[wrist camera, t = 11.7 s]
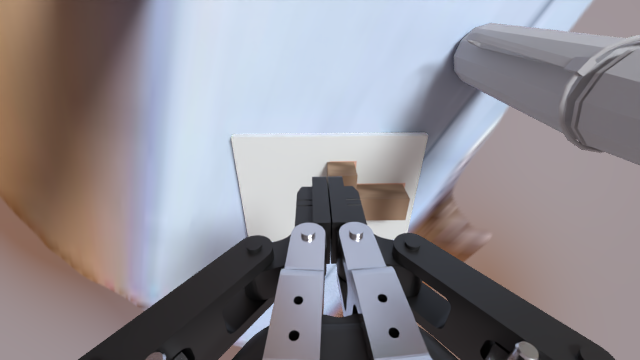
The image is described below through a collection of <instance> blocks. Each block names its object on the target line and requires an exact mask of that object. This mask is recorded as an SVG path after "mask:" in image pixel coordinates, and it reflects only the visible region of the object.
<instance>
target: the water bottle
mask: <svg viewBox="0 0 640 360" xmlns="http://www.w3.org/2000/svg"><path fill="white" fill-rule="evenodd" d="M454 71H455V72H456V74H457V75H458V77H459V78H460V79H461V81H463V82H465V83H467V84H468V85H470V86H472V87H474V88H476V89H478V90H480V91H482V92H484V93H486V94H488V95H490V96H492V97H494V98H496V99H498V100H499V101H501V102H503V103H505V104H507V105H509V106H511V107H513V108H515V109H517V110H519V111H521V112H523V113H525V114H527V115H529V116H530V117H533V118H534V119H536V120H538V121H540V122H542V123H544V124H546V125H548V126H550V127H552V128H554V129H556V130H558V131H560V132H561V133H563V134H564V135H565V137H566V138H567V140H568V141H570V142H571V143H573V144H574V145H576V146H577V147H578V148H580V149H582V150H588V151H593V152H606V153H609V154H612V155H615V156H617V157H620V158H623V159H625V160H627V161H630V162H633V163H635V164H638V165H640V35H638V36H631V37H629V38H620V37H611V36H602V35H593V34H583V33H574V32H567V31H558V30H549V29H540V28H531V27H522V26H513V25H504V24H495V23H489V24H485V25H482V26H479V27H475V28H474V29H473V30H472V31H470V32H469V33H468V34H467V35H466V36H465V37H464V38H463V39H462V40H461V41H460V43H459V46H458V48H457V50H456V52H455V54H454ZM576 139H577V140H578V141H579V142H578V141H577V140H576Z"/></svg>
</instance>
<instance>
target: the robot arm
mask: <svg viewBox="0 0 640 360" xmlns="http://www.w3.org/2000/svg"><path fill="white" fill-rule="evenodd" d="M296 200H297V201H296V214H295V227H294V229H293V230H292V232H291V234H290V235H289V236H288V237H286V238H284V239H282V240H279V241H275V242H272V241H271V240H270V239H269V238H267V237H265V236H261V235H254V236H250V237H247V238H245V239H243V240H242V241H240V242H239V243H238V244H236V245H235V246H234V247H232V248H231V249H229V250H228V251H227V252H225V253H224V254H223V255H221V256H220V257H218V258H217V259H216V260H214V261H213V262H212V263H210V264H209V265H207V266H206V267H205V268H203V269H202V270H201V271H199V272H198V273H196V274H195V275H194V276H192V277H191V278H190V279H188V280H187V281H185V282H184V283H183V284H181V285H180V286H179V287H177V288H176V289H174V290H173V291H172V292H170V293H169V294H168V295H166V296H165V297H163V298H162V299H161V300H159V301H158V302H157V303H155V304H154V305H152V306H151V307H150V308H148V309H147V310H146V311H144V312H143V313H142V314H140V315H139V316H137V317H136V318H135V319H133V320H132V321H130V322H129V323H128V324H126V325H125V326H124V327H122V328H121V329H119V330H118V331H117V332H115V333H114V334H113V335H111V336H110V337H108V338H107V339H106V340H104V341H103V342H102V343H100V344H99V345H97V346H96V347H95V348H93V349H92V350H91V351H89V352H88V353H86V354H85V355H84V356H82V357H81V358H80V359H78V360H218V359H219V358H220V357H221V356H222V355H223V354H224V353H225V352H226V351H227V350H228V349H229V348H230V347H231V346H232V345H233V344H234V343H235V342H236V341H237V340H238V339H239V338H240V337H241V336H242V335H243V334H244V333H245V332H246V330H247V329H248V328H249V327H250V326H251V325H252V324H253V323H254V322H255V321H256V320H257V319H258V318H259V317H260V316H261V315H262V314H263V313H264V312H265V311H266V310H267V309H268V308H269V307H270V306H271V305H272V304H273V303H274V306H273V310H272V315H271V320H270V325H269V326H268V327H266V328H264V329H263V330H261V331H260V332H258V333H257V334H256V335H254V336H253V337H252V338H251V339H250V340H249V341H248V342H247V343H246V344H245V345H244V346H243V348H242V349H241V350H240V351H239V352H238V353H237V354H236V355H235V357H234V358H233V359H232V360H458V359H457V358H456V357H455V356H454V355H453V354H452V353H454V354H455V355H456V356H457V357H458V358H460V359H461V360H615V359H614V358H613V356H611V355H610V354H609V353H608V352H607V351H606V350H604V349H603V348H602V347H600V346H599V345H597V344H595V343H594V342H592V341H591V340H589V339H587V338H586V337H584V336H582V335H581V334H579V333H578V332H576V331H574V330H573V329H571V328H569V327H568V326H566V325H564V324H563V323H561V322H559V321H558V320H556V319H555V318H553V317H551V316H550V315H548V314H547V313H545V312H543V311H542V310H540V309H538V308H537V307H535V306H534V305H532V304H530V303H529V302H527V301H525V300H524V299H522V298H520V297H519V296H517V295H515V294H514V293H512V292H511V291H509V290H507V289H506V288H504V287H503V286H501V285H499V284H498V283H496V282H494V281H493V280H491V279H490V278H488V277H486V276H485V275H483V274H482V273H480V272H478V271H477V270H475V269H473V268H472V267H470V266H468V265H467V264H465V263H464V262H462V261H460V260H459V259H457V258H455V257H454V256H452V255H451V254H449V253H447V252H446V251H444V250H442V249H441V248H439V247H438V246H436V245H434V244H433V243H431V242H429V241H428V240H426V239H425V238H423V237H421V236H419V235H417V234H413V233H403V234H400V235H398V236H397V237H396V238H395V239H394V240H390V239H386V238H382V237H379V236H377V235H375V234H374V233H373V231H372V229H371V228H370V227H369V226H367V223H366V219H365V215H364V211H363V207H362V203H361V200H360V196H359V192H358V191H357V190H356V189H355V188H354V187H353V186H344V183H343V178H342V176H328V177H312V187H301V188H300V189H299V191H298V192H297V199H296ZM330 255H331V264H336V263H337V283H338V288H339V293H340V299H341V304H342V309H343V314H344V317H341V318H338V317H333V316H328V315H323V309H324V283H325V275H326V264H330ZM422 281H424V282H425V283H427V284H428V285H429V286H431V287H432V288H434V289H435V290H436V291H438V292H439V293H440V294H442V295H443V296H445V297H446V298H447V300H448V301H449V302H448V301H447V300H446V299H444V298H443V297H441V296H440V295H439V294H437V293H436V292H435V291H433V290H432V289H431V288H429V287H428V286H427V285H425V284H424V283H422ZM416 322H417V323H418V324H419V325H421V326H422V327H423V328H424V329H425V330H426V331H428V332H429V333H430V334H431V335H433V336H434V337H435V338H436V339H437V340H439V341H440V342H441V343H442V344H443V345H444V346H445V347H447V348H448V349H449V350H450V351H451V352H452V353H450V352H449V351H448V350H447V349H446V348H445V347H444V346H443V345H441V344H440V343H439V342H438V341H437V340H436V339H435V338H434V337H433V336H431V335H430V334H429V333H427V332H426V331H425V330H423V329H422V328H420V327H418V326H417V323H416Z"/></svg>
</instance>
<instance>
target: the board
mask: <svg viewBox="0 0 640 360" xmlns="http://www.w3.org/2000/svg"><path fill="white" fill-rule="evenodd" d="M427 139H428V134H427V133H426V132H393V133H279V134H232V136H231V141H232V147H233V153H234V158H235V164H236V170H237V176H238V182H239V187H240V193H241V199H242V205H243V211H244V216H245V222H246V228H247V234H248V237H250V236H254V235H261V236H265V237H267V238H269V239H270V240H271V241H272V242H275V241H279V240H282V239H284V238H286V237H288V236H289V235H290V234H291V232H292V230H293V229H294V227H295V214H296V201H297V200H296V199H297V192H298V191H299V189H300V188H301V187H312V177H327V162H354V164H355V168H356V172H357V175H358V177H357V184H403V186H404V188H405V190H406V192H407V194H408V196H409V198H410V201H409V206H408V210H407V215H406V220H379V221H366V223H367V226H369V227H370V228H371V229H372V231H373V233H374V234H375V235H377V236H379V237H382V238H386V239H390V240H394V239H395V238H396V237H397V236H398V235H400V234H403V233H407V232H408V227H409V223H410V218H411V213H412V209H413V204H414V199H415V195H416V190H417V186H418V181H419V176H420V172H421V167H422V162H423V158H424V153H425V149H426V144H427Z"/></svg>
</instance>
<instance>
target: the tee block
mask: <svg viewBox="0 0 640 360" xmlns="http://www.w3.org/2000/svg"><path fill="white" fill-rule="evenodd" d="M328 176H342V178H343V183H344V186H353V187H354V188H355V189H356V190H357V191H358V192H359V196H360V200H361V203H362V207H363V211H364V215H365V219H366V221H379V220H406V215H407V210H408V206H409V201H410V198H409V196H408V194H407V192H406V190H405V188H404V186H403V184H357V177H358V175H357V172H356V168H355V164H354V162H327V177H328Z"/></svg>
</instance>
